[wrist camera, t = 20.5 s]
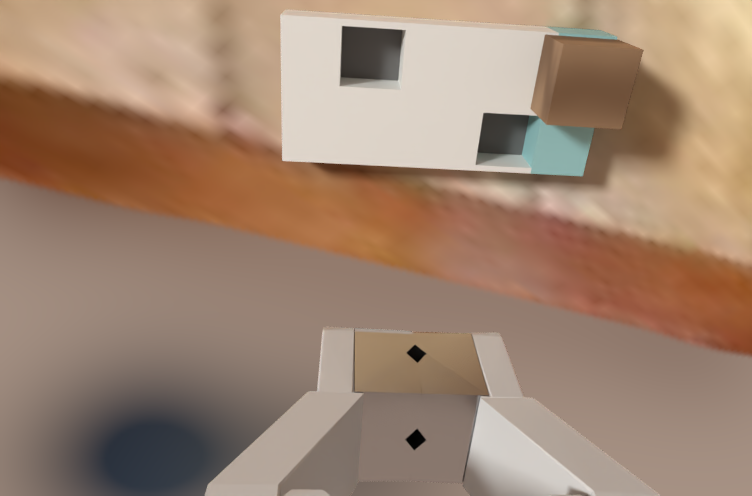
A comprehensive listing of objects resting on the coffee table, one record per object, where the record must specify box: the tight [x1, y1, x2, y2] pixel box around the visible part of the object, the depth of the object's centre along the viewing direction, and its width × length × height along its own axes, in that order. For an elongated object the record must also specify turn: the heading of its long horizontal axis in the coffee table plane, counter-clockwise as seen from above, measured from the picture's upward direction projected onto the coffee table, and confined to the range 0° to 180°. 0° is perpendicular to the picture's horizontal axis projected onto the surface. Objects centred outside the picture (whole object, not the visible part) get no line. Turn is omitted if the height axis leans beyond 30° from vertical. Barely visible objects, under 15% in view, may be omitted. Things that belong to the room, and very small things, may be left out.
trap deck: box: [280, 9, 617, 176], centre depth 34 cm, size 8×18×2 cm, turn 86°
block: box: [530, 35, 643, 129], centre depth 31 cm, size 4×4×3 cm
